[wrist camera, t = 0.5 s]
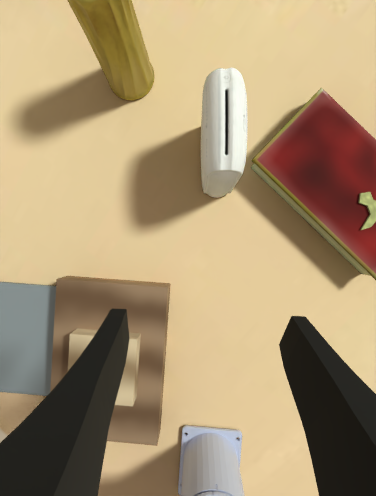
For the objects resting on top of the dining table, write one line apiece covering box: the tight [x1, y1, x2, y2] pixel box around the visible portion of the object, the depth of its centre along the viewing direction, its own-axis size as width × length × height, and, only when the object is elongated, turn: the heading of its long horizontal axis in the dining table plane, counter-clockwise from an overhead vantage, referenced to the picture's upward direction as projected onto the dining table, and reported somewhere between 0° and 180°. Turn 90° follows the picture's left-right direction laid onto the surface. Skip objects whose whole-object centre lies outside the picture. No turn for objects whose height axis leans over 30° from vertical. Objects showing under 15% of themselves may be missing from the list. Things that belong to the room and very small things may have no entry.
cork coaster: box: [68, 328, 141, 406], centre depth 32 cm, size 8×8×2 cm
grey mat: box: [0, 282, 56, 396], centre depth 37 cm, size 15×10×1 cm, turn 176°
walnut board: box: [50, 276, 170, 446], centre depth 35 cm, size 20×14×3 cm
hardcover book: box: [251, 88, 376, 280], centre depth 33 cm, size 12×21×4 cm, turn 46°
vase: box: [68, 0, 154, 100], centre depth 28 cm, size 6×6×14 cm
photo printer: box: [201, 68, 247, 198], centre depth 29 cm, size 10×4×12 cm, turn 0°
